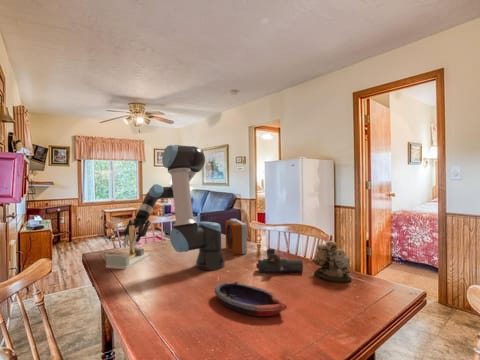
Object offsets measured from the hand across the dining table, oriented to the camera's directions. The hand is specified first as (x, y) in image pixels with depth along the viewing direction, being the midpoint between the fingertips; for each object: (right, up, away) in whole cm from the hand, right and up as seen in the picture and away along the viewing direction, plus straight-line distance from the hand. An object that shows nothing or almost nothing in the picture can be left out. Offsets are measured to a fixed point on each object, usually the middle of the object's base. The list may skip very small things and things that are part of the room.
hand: (128, 246), depth 152 cm
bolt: (+1, -7, +4) cm, 8 cm away
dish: (+66, -10, -52) cm, 84 cm away
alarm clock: (+60, -8, +20) cm, 64 cm away
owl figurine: (+105, -8, -25) cm, 109 cm away
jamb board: (0, -9, 0) cm, 9 cm away
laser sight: (+82, -9, -17) cm, 84 cm away
